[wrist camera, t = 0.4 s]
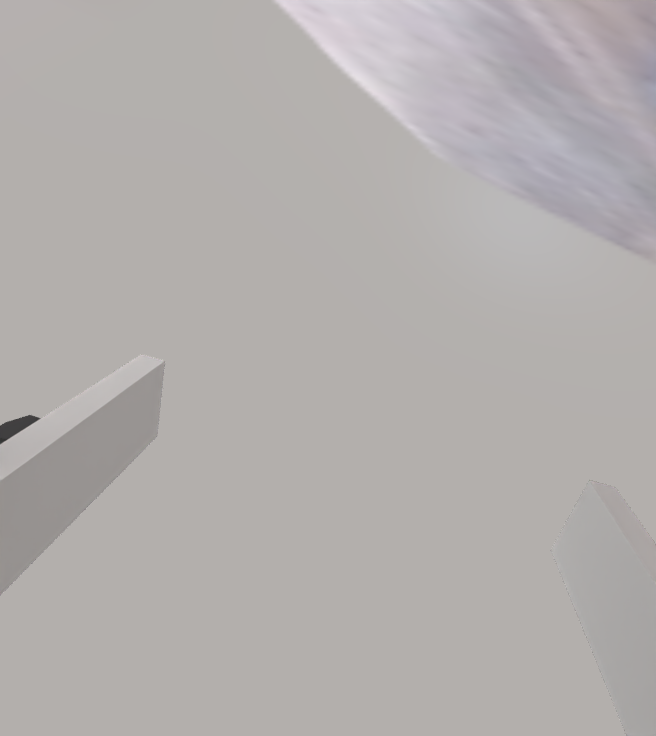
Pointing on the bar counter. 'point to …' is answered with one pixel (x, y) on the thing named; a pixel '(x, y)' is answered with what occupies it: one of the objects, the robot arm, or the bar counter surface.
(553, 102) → the bar counter surface
